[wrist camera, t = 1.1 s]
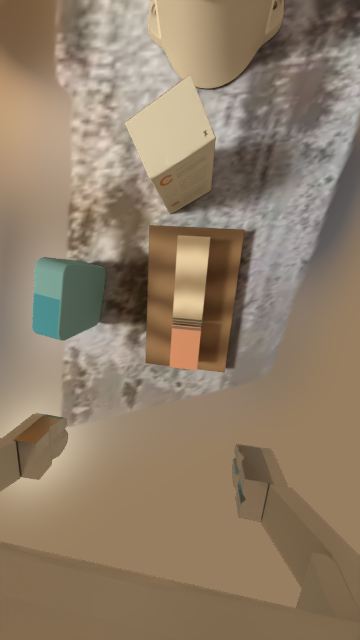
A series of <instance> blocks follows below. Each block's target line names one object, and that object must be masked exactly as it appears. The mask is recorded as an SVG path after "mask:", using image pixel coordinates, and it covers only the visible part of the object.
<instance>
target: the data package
mask: <svg viewBox="0 0 360 640" xmlns="http://www.w3.org/2000/svg"><path fill="white" fill-rule="evenodd" d="M105 279H106V270H105V268H104V267H102V266H99V265H95V264H91V263H87V262H83V261H74V260H65V259H56V258H46V257H43V258H40V259H39V260H38V261H37V263H36V265H35V277H34V303H33V330H34V332H35V333H37V334H41V335H44V336H48V337H51V338H55V339H59V340H66V339H68V338H70V337H72V336H75V335H77V334H79V333H81V332H83V331H85V330H87V329H89V328H91V327H93V326H95V325H97V324H98V322H99V320H100V316H101V309H102V301H103V294H104V286H105Z"/></svg>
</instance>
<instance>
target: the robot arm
mask: <svg viewBox="0 0 360 640" xmlns="http://www.w3.org/2000/svg"><path fill="white" fill-rule="evenodd" d="M273 8H274V10H273ZM283 15H284V0H151V4H150V10H149V16H148V29H149V35H150V37H151V39H152V40H153V41H154V42H155V43H156V44H157V45H158V46H160V47H161V48H162V49H163V50H164V51H165V53H166V55H167V57H168V59H169V61H170V63H171V65H172V67H173V69H174V70H175V72H176V73H177V74H178V75H179V76H180V77H181V78H182V79H184V78H186V77H187V76H188V75H191V77H192V80H193V82H194V85H195V87H199V88H215V87H219V86H222V85H224V84H227V83H228V82H230V81H232V80H233V79H235V78H236V77H237V76H238V75H240V74H241V73H242V72H243V71H244V69H245V68H246V67H247V66H248V65H249V63H250V62H251V60H252V59H253V57H254V56H255V54H256V52H257V51H258V50H259V48H260V47H261V46H262V45H263V44H264V43H266V42H267V41H268V40H269V39H271V38H272V37H273V36H274V35H275V34H276V33H277V32H278V31H279V29H280V27H281V24H282V19H283ZM66 426H67V419H65V418H62V417H56V416H51V415H44V414H39V413H36V414H33V415H31V416H30V417H29V418H28V419H26V420H25V421H24V422H22V423H21V424H20V425H19V426H17V427H16V428H15V429H14V430H12V431H11V432H10V433H8V434H7V435H6V436H5V437H3V438H2V439H1V438H0V491H2V490H3V489H5V488H6V487H8V486H9V485H11V484H12V483H14V482H15V481H17V480H18V479H20V477H24V478H31V479H37V480H39V479H40V478H41V477H42V476H43V474H44V473H45V472H46V471H47V470H48V469H49V467H50V466H51V464H52V459H54V458H56V457H58V456H59V455H60V454H61V453H62V451H63V450H64V448H65V446H66V444H67V440H68V433H67V431H66V430H65V428H66ZM234 452H235V457H236V458H234V459H233V464H232V477H233V486H234V487H235V489H236V490H237V492H236V497H235V499H236V504H237V511H238V517H239V518H244V519H248V520H253V521H257V522H262V523H261V524H262V526H263V527H264V529H265V530H266V532H267V534H268V535H269V537H270V539H271V540H272V542H273V543H274V545H275V547H276V548H277V550H278V551H279V553H280V554H281V556H282V558H283V559H284V561H285V563H286V564H287V566H288V567H289V569H290V570H291V572H292V574H293V575H294V577H295V579H296V580H297V582H298V583H299V585H300V586H301V588H302V589H301V593H300V596H299V599H298V602H297V606H296V608H293V607H288V606H284V605H280V604H275V603H271V602H266V601H262V600H257V599H253V598H249V597H244V596H240V595H235V594H231V593H227V592H222V591H218V590H213V589H209V588H205V587H200V586H195V585H191V584H187V583H182V582H178V581H174V580H169V579H165V578H160V577H156V576H152V575H147V574H142V573H138V572H134V571H129V570H125V569H121V568H116V567H112V566H107V565H103V564H98V563H94V562H89V561H85V560H80V559H76V558H72V557H67V556H62V555H58V554H54V553H49V552H45V551H40V550H36V549H32V548H27V547H23V546H18V545H14V544H9V543H5V542H1V541H0V640H360V555H359V554H358V553H357V552H356V551H355V550H354V549H353V548H352V547H351V546H350V545H349V544H348V543H347V542H346V541H345V540H344V539H343V538H342V537H341V536H340V535H339V534H338V533H337V532H336V531H335V530H334V529H333V528H332V527H331V526H330V525H329V524H328V523H327V522H326V521H325V520H324V519H323V518H322V517H321V516H320V515H319V514H318V513H317V512H316V511H315V510H314V509H313V508H312V507H311V506H310V505H309V504H308V503H307V502H306V501H305V500H304V499H303V498H302V497H301V496H300V495H299V494H298V493H297V492H296V491H295V490H294V489H293V488H290V487H288V485H287V482H286V480H285V478H284V475H283V474H282V471H281V469H280V466H279V464H278V462H277V459H276V457H275V455H274V452H273V451H272V449H269V448H260V447H253V446H246V445H238V444H236V446H235V451H234Z"/></svg>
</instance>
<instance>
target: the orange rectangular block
mask: <svg viewBox="0 0 360 640" xmlns="http://www.w3.org/2000/svg"><path fill="white" fill-rule="evenodd" d="M200 335H201V326H200V325H190V324H179V323H173V324H172V336H171V352H170V367H174V368H183V369H191V370H197V365H198V355H199V345H200Z"/></svg>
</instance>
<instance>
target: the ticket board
mask: <svg viewBox="0 0 360 640" xmlns="http://www.w3.org/2000/svg"><path fill="white" fill-rule="evenodd" d="M243 237H244V230H237V229H216V228H195V227H175V226H154V225H150V226H149V261H148V297H147V333H146V363H149V364H158V365H166V366H170V352H171V336H172V324H173V323H179V324H190V325H200V326H201V335H200V345H199V355H198V365H197V369H200V370H208V371H217V372H225V366H226V359H227V351H228V344H229V337H230V330H231V323H232V316H233V308H234V301H235V294H236V287H237V280H238V272H239V265H240V258H241V251H242V244H243Z"/></svg>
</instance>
